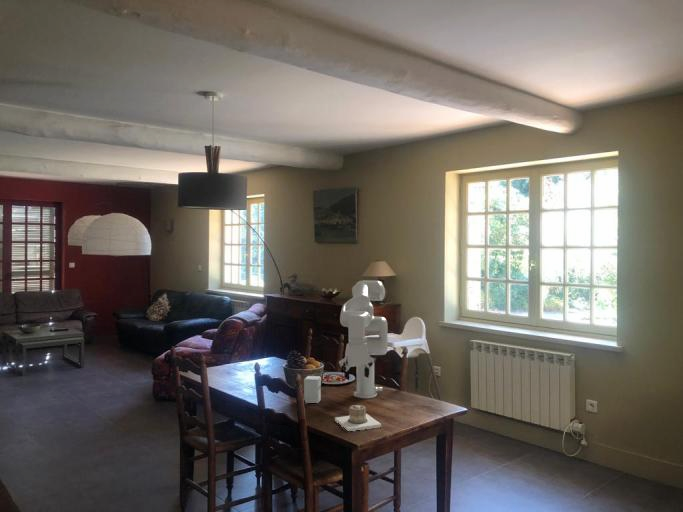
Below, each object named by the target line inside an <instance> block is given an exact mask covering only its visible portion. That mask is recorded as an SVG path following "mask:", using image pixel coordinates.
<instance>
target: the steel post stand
mask: <svg viewBox="0 0 683 512" xmlns="http://www.w3.org/2000/svg"><path fill="white" fill-rule="evenodd" d="M355 409H360V406H355ZM334 421H335V422H336V423H337V424H338V423H339V424H340V425H341V426H340V425H339V424H338V425H339V426H340V427H342V428H343V427H344V428H345V429H346V430H347V431H353V432H357V431H356V430H360V431H366V430H365V429H367V430H373V428H374V429H380V427H381V428H382V423H380V422H379V421H377V420H376V418H375V419H374V418H373V417H372V416H371V415H370V414H368V413H366V421H365V422H363V423H352V422H351V421H349V415H344V416H338V417H337V416H336V417H334ZM344 428H343V429H344ZM345 429H344V430H345ZM346 430H345V431H346ZM347 431H346V432H347Z"/></svg>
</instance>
